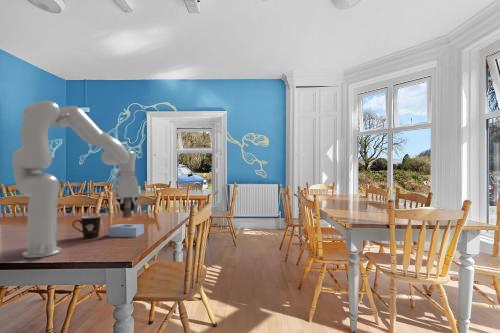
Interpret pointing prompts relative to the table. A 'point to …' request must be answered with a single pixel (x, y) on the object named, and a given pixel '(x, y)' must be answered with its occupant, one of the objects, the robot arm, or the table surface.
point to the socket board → (126, 230)
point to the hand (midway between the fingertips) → (127, 210)
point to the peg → (127, 207)
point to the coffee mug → (89, 226)
